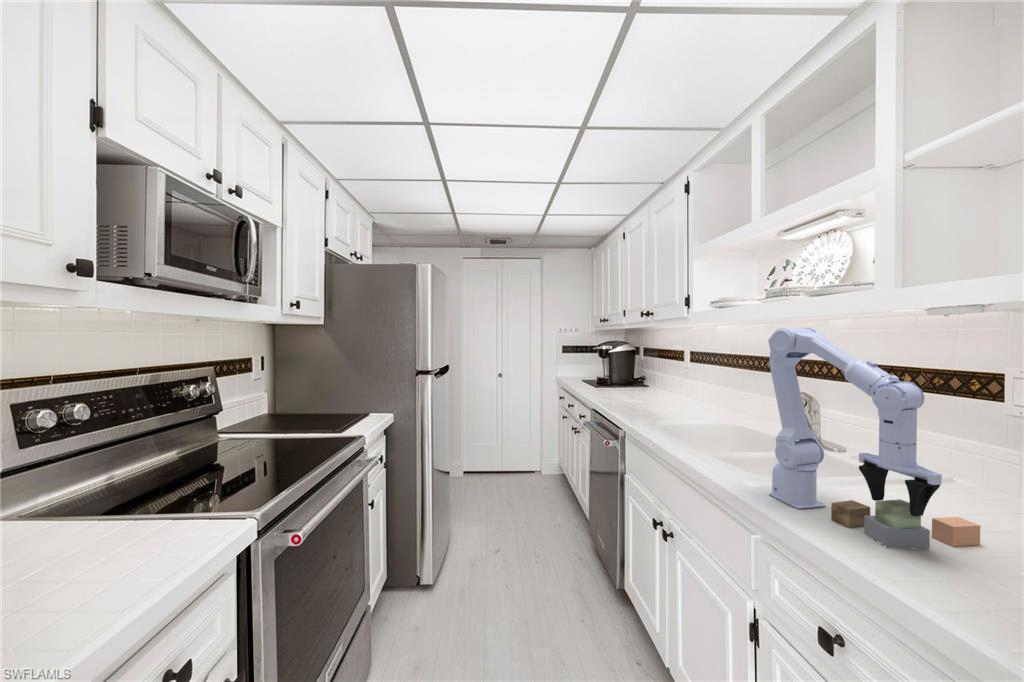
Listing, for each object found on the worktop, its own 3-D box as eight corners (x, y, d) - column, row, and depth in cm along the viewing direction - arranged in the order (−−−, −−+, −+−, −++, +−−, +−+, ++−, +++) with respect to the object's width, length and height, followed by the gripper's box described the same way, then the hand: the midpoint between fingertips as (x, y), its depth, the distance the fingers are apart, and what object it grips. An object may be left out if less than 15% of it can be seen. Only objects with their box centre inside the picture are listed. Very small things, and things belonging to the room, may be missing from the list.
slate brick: (864, 533, 91) (864, 515, 91) (905, 535, 90) (905, 517, 90) (884, 548, 85) (885, 528, 85) (929, 550, 84) (929, 530, 84)
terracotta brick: (931, 536, 89) (932, 518, 89) (957, 535, 90) (957, 516, 90) (953, 546, 85) (953, 526, 85) (979, 545, 86) (980, 525, 86)
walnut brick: (831, 520, 97) (831, 502, 97) (852, 517, 99) (852, 500, 99) (848, 527, 94) (848, 509, 94) (870, 524, 95) (870, 507, 95)
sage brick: (875, 520, 89) (875, 501, 89) (900, 518, 90) (900, 499, 89) (895, 529, 85) (895, 509, 85) (920, 526, 86) (921, 507, 85)
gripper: (955, 450, 80) (954, 521, 81) (878, 432, 95) (877, 492, 95) (924, 452, 79) (923, 524, 80) (850, 433, 94) (850, 494, 94)
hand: (896, 507), depth 87 cm, fingers open, 7 cm apart
